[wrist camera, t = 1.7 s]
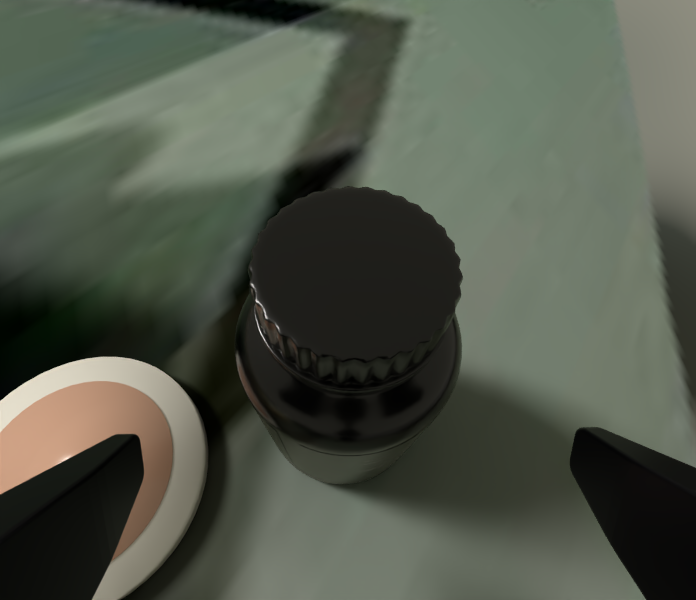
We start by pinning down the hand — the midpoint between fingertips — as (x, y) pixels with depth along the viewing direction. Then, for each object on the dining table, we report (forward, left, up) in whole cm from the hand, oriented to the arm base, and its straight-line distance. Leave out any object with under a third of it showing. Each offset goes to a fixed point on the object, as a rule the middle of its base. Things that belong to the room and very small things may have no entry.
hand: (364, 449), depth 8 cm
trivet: (+8, +8, -10) cm, 15 cm away
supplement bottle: (+3, -2, -11) cm, 11 cm away
